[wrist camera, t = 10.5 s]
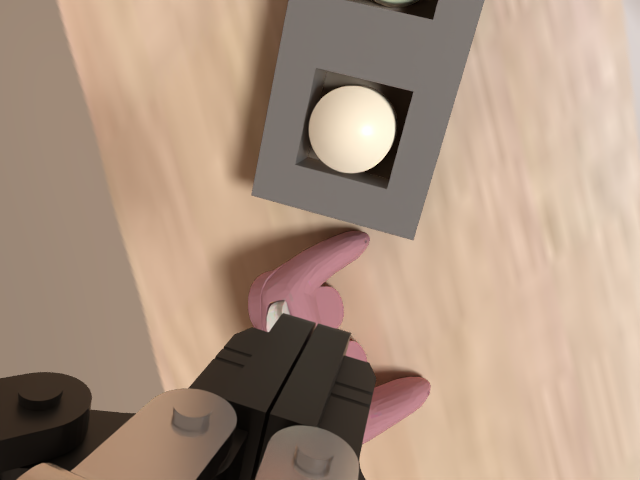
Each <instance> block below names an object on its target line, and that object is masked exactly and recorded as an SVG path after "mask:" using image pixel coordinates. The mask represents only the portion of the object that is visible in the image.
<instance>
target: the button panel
mask: <svg viewBox="0 0 640 480" xmlns="http://www.w3.org/2000/svg"><path fill="white" fill-rule="evenodd" d="M483 3H484V0H438V3H437V7H436V11H435V14H434V18H433V20H432V19H427V18H423V17H418V16H414V15H410V14H405V13H401V12H396V11H392V10H387V9H383V8H378V7H374V6H369V5H365V4H360V3H356V2H352V1H347V0H288V5H287V11H286V16H285V21H284V26H283V32H282V37H281V42H280V47H279V53H278V58H277V63H276V69H275V74H274V79H273V84H272V90H271V95H270V100H269V105H268V111H267V116H266V121H265V126H264V132H263V137H262V142H261V147H260V153H259V158H258V163H257V169H256V174H255V179H254V184H253V190H252V196H255V197H259V198H263V199H266V200H270V201H273V202H277V203H281V204H284V205H288V206H291V207H295V208H299V209H302V210H306V211H309V212H313V213H317V214H320V215H324V216H327V217H331V218H335V219H338V220H342V221H346V222H349V223H353V224H356V225H360V226H364V227H367V228H371V229H374V230H378V231H382V232H385V233H389V234H392V235H396V236H400V237H403V238H407V239H410V240H414V236H415V233H416V229H417V226H418V223H419V219H420V216H421V213H422V209H423V206H424V202H425V199H426V196H427V192H428V189H429V186H430V182H431V179H432V175H433V172H434V169H435V165H436V162H437V159H438V155H439V152H440V148H441V145H442V142H443V138H444V135H445V132H446V128H447V125H448V121H449V118H450V115H451V111H452V108H453V105H454V101H455V98H456V95H457V91H458V88H459V84H460V81H461V78H462V74H463V71H464V68H465V64H466V61H467V57H468V54H469V51H470V47H471V44H472V41H473V37H474V34H475V30H476V27H477V24H478V20H479V17H480V14H481V10H482V7H483ZM326 71H331V72H335V73H339V74H343V75H347V76H351V77H355V78H360V79H364V80H368V81H372V82H376V83H380V84H384V85H388V86H393V87H397V88H401V89H405V90H409V91H413V95H412V99H411V103H410V106H409V110H408V114H407V117H406V121H405V125H404V128H403V132H402V136H401V140H400V143H399V147H398V151H397V154H396V158H395V162H394V165H393V169H392V173H391V176H390V179H388V178H384V177H380V176H377V175H373V174H369V173H365V172H359V173H344V172H340V171H337V170H334V169H332V168H330V167H329V166H327V165H326V164H325V163H323V162H322V161H320V160H316V159H312V158H308V154H309V149H310V144H311V142H310V138H309V122H310V118H311V114H312V112H313V110H314V108H315V106H316V105H317V103H318V102H319V101H320V99H321V94H322V90H323V85H324V81H325V76H326Z"/></svg>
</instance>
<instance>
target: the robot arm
mask: <svg viewBox="0 0 640 480" xmlns="http://www.w3.org/2000/svg"><path fill="white" fill-rule="evenodd" d="M350 337H351V333H349V332H346V331H343V330H339V329H336V328H333V327H329V326H326V325H322V324H319V323H318V324H317V326H316V323H315V322H312V321H309V320H305V319H302V318H299V317H295V316H292V315H289V314H285V313H282V314H281V316H280V317H279V319H278V320H277V321H276V323H275V324H274V326H273V327H272V328H271V330H270V331H269V332H266V331H263V330H260V329H256V328H253V327H252V328H250V329H247V330H245V331H242V332H240V333H237V334H235V335H234V336H233V337H232V338H231V339H230V340H229V342H228V343H227V344H226V345H225V346H224V349H222V350H221V351H220V352H219V353H218V354H217V356H216V358H215V359H213V360H212V361H211V363H210V364H209V365H208V366H207V367H206V368H205V370H204V371H203V372H202V373H201V374H200V375H199V377H198V378H197V379H196V380H195V381H194V382H193V384H192V385H191V386H190V387H189V388H188V389H175V390H171V391H167V392H164V393H162V394H160V395H158V396H156V397H155V398H153V399H152V400H151V401H150V402H149V403H147V404H146V405H145V406H144V407H143V408H142V409H141V410H140V411H138V412H137V413H119V412H108V411H98V410H90V409H91V400H92V396H91V392H90V390H89V388H88V387H87V385H85V384H84V383H83V382H82V381H80V380H78V379H77V378H74V377H72V376H69V375H65V374H60V373H50V372H40V373H39V372H38V373H29V374H24V375H17V376H12V377H6V378H0V480H365V478H364V476H363V474H362V472H361V469H360V464H359V457H360V451H361V447H362V442H363V438H364V433H365V428H366V424H367V419H368V415H369V410H370V405H371V401H372V395H373V392H374V387H375V382H376V376H375V374H374V372H373V370H372V368H371V366H370V364H369V363H368V362H365V361H361V360H358V359H355V358H352V357H348V356H346V352H347V349H348V345H349V341H350Z"/></svg>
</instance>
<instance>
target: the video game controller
mask: <svg viewBox="0 0 640 480" xmlns="http://www.w3.org/2000/svg"><path fill="white" fill-rule="evenodd" d="M369 241H370V238H369V236H368V234H366V233H365V232H360V231H349V232H345V233H342V234H339V235H336V236H333V237H331V238H328V239H326V240H324V241H321V242H319V243H318V244H316V245H314V246H312V247H310V248H308V249H306V250H304V251H303V252H301V253H299V254H298V255H296V256H295V257H293V258H292V259H290V260H289V261H287V262H285V263H284V264H282V265H281V266H279V267H278V268H276V269H275V270H272V271H267V272H265V273H263V274H261V275H260V276H258V277H257V278H256V279H255V280H254V282H253V284H252V285H251V288H250V291H249V296H248V311H249V317H250V320H251V322H252V324H253V326H254V328H256V329H260V330H263V331H266V332H269V331H270V330H271V328H272V327H273V326H274V324H275V323H276V321H277V320H278V319H279V317H280V316H281V314H282V313H285V314H289V315H292V316H295V317H299V318H302V319H305V320H309V321H312V322H315V323H316V326H317V324H318V323H319V324H322V325H326V326H329V327H333V328H336V329H337V328H338V327H339V326H340V325H341V323H342V320H343V317H344V307H343V303H342V299H341V297H340V295H339V293H338V291H337V290H335V289H334V288H332V287H327V286H326V287H320V286H321V285H322V284H323V283H324V282H325V281H326V280H327V279H329V278H330V277H331V276H332V275H333V274H335V273H336V272H338V271H339V270H341V269H342V268H344V267H345V266H347V265H348V264H350V263H351V262H353V261H354V260H356V259H357V258H358V257H359V256H360V255H361V254H362V253H363V252H364V250H365V249H366V248H367V246H368V244H369ZM346 356H348V357H352V358H355V359H358V360H361V361H365V362H367V358H366V354H365V352H364V350H363V348H362V347H361V346H360V345H359V344H358V343H357V342H355V341H349V345H348V349H347V352H346ZM430 387H431V386H430V383H429V382H428V381H427V380H426V379H424V378H421V377H405V378H400V379H396V380H393V381H390V382H388V383H385V384H382V385H380V386H377V387H374V392H373V395H372V401H371V405H370V410H369V415H368V419H367V424H366V428H365V433H364V438H363V442H362V444H364V443H366V442H368V441H370V440H371V439H373V438H374V437H376V436H377V435H379V434H380V433H382V432H384V431H385V430H387V429H388V428H390V427H391V426H393V425H395V424H396V423H398V422H399V421H401V420H402V419H404V418H406V417H407V416H409V415H410V414H412V413H413V412H414V411H416V410H417V409H418V408H420V407H421V406H422V404H423V403H424V402H425V400H426V399H427V398H428V396H429V393H430Z"/></svg>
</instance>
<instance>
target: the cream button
mask: <svg viewBox="0 0 640 480" xmlns="http://www.w3.org/2000/svg"><path fill="white" fill-rule="evenodd" d="M397 128H398V122H397V115H396V112H395V109H394V107H393V105H392V104H391V102H390V101H389V100H388V98H387V97H386V96H385V95H383V94H382V93H381V92H379V91H378V90H376V89H374V88H371V87H367V86H345V87H341V88H337V89H335V90H333V91H331V92H329V93H328V94H326V95H325V96H324V97H323V98H322V99H321V100H320V101H319V102H318V103H317V105H316V106H315V108H314V110H313V112H312V114H311V118H310V122H309V138H310V142H311V145H312V147H313V149H314V151H315V153H316V155H317V156H318V157H319V158H320V160H321V161H322V162H323V163H325V164H326V165H327V166H329V167H330V168H332V169H334V170H337V171H340V172H344V173H359V172H363V171H366V170H368V169H370V168H372V167H374V166H375V165H377V164H378V163H379V162H380V161H381V160H382V159H383V158H384V157H385V155H386V154H387V153H388V151H389V150H390V148H391V147H392V145H393V143H394V141H395V138H396V135H397Z"/></svg>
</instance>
